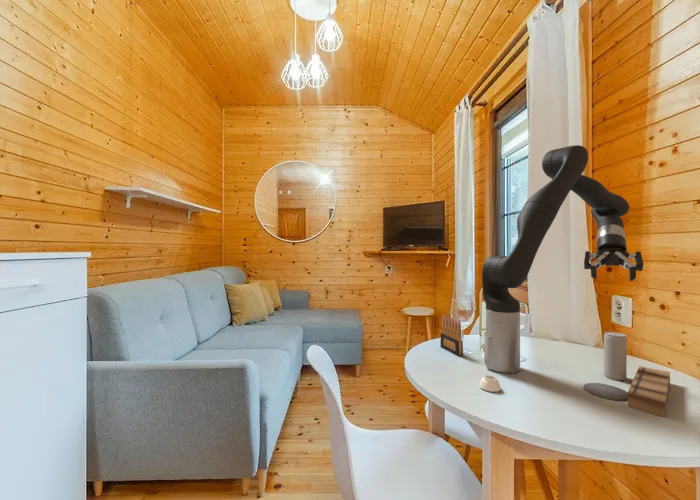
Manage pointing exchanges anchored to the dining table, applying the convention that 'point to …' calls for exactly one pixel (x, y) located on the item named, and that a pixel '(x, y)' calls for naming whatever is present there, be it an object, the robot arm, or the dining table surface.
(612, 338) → the beverage can
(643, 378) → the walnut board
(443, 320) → the ammunition clip
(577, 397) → the dining table surface
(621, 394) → the end pad
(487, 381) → the small beige bowl
